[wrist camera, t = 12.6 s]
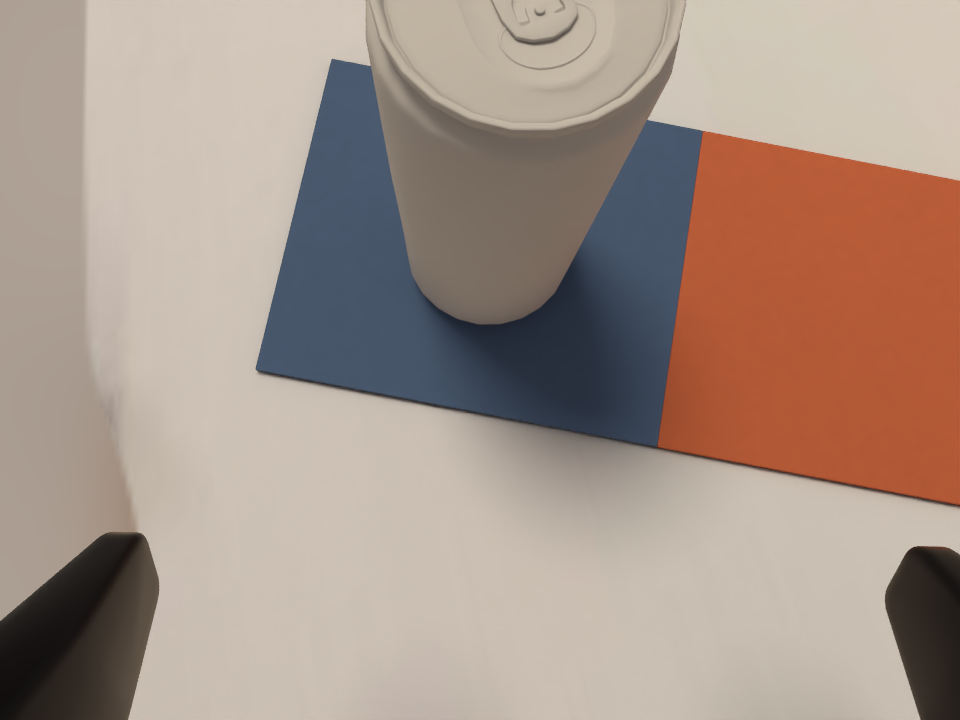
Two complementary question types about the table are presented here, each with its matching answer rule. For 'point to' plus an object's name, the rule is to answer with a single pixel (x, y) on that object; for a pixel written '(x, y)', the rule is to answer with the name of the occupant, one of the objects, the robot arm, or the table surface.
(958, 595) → the robot arm
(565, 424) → the sorting mat
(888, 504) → the table surface
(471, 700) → the table surface
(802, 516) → the table surface
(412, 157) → the beverage can
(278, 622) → the table surface
